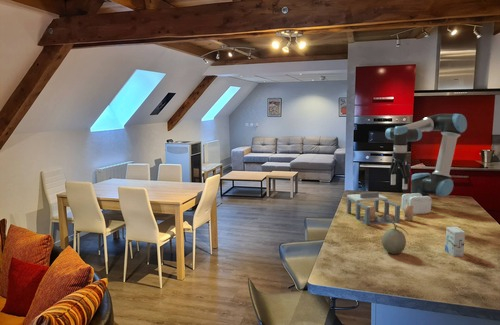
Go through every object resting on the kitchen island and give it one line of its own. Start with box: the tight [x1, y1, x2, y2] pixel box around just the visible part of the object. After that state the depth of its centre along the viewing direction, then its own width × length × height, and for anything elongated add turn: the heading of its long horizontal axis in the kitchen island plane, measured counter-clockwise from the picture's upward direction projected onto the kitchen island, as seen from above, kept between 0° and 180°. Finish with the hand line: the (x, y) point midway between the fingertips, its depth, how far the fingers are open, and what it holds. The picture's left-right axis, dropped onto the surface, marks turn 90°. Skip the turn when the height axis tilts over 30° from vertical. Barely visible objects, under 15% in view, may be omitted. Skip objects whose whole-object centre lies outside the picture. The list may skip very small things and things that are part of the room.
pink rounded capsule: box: [403, 205, 414, 222], centre depth 235 cm, size 5×5×9 cm
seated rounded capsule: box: [367, 204, 376, 222], centre depth 233 cm, size 5×5×9 cm
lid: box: [346, 191, 389, 202], centre depth 246 cm, size 21×14×4 cm
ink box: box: [444, 226, 466, 257], centre depth 182 cm, size 9×5×12 cm, turn 178°
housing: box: [346, 196, 401, 226], centre depth 240 cm, size 21×27×11 cm
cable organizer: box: [400, 193, 432, 216], centre depth 252 cm, size 15×11×12 cm
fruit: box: [381, 219, 409, 255], centre depth 183 cm, size 10×12×15 cm
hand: (398, 186), depth 235 cm, fingers open, 13 cm apart
